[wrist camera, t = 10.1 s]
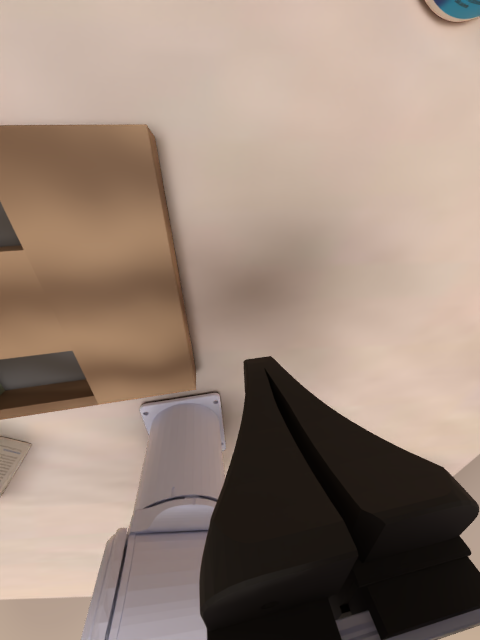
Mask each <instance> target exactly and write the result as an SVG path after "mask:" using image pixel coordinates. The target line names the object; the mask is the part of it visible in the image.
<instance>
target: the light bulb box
mask: <svg viewBox="0 0 480 640" xmlns="http://www.w3.org/2000/svg"><path fill="white" fill-rule="evenodd" d="M30 447H31V444H30V443H26V442H21V441H17V440H13V439H9V438H5V437H1V436H0V497H1V495H2V494H3V492H4V490H5V489H6V487H7V486H8V484H9V482H10V481H11V479H12V477H13V476H14V474H15V472H16V471H17V469H18V467H19V466H20V464H21V462H22V461H23V459H24V457H25V456H26V454H27V452H28V451H29V449H30Z"/></svg>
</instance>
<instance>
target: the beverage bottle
mask: <svg viewBox="0 0 480 640" xmlns="http://www.w3.org/2000/svg"><path fill="white" fill-rule="evenodd" d="M425 2H426V3H427V5H428V6H429V7H430V9H431V10H432V11H433V12H434V13H435V14H437V15H438V16H439V17H441V18H443V19H445V20H448V21H453V22H463V21H469V20H472V19H475V18H478V17H480V0H425Z"/></svg>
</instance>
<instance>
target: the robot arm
mask: <svg viewBox="0 0 480 640" xmlns="http://www.w3.org/2000/svg"><path fill="white" fill-rule="evenodd" d="M244 382H245V402H244V409H243V415H242V421H241V425H240V430H239V434H238V438H237V442H236V446H235V450H234V453H233V456H232V460H231V463H230V466H229V469H228V472H227V475H226V478H225V476H224V466H223V456H222V451H224V450H225V449H226V444H225V436H224V427H223V419H222V411H221V402H220V395H219V394H218V393H210V394H204V395H197V396H191V397H185V398H178V399H172V400H166V401H159V402H153V403H147V404H142V405H141V406H140V413H141V416H142V418H143V421H144V424H145V427H146V429H147V432H148V435H149V439H148V443H147V448H146V453H145V458H144V463H143V468H142V472H141V477H140V482H139V487H138V492H137V497H136V501H135V506H134V511H133V516H132V519H131V522H130V525H129V528H128V532H127V528H119V529H118V530H117V532H116V534H115V535H113V536H112V537H111V538H110V539H109V540H108V541H107V543H106V547H105V551H104V554H103V558H102V562H101V565H100V569H99V573H98V577H97V580H96V584H95V588H94V592H93V595H92V599H91V603H90V607H89V610H88V614H87V618H86V622H85V626H84V630H83V633H82V637H81V640H438V639H441V638H444V637H447V636H450V635H452V634H456V633H458V632H462V631H464V630H467V629H470V628H473V627H476V626H479V625H480V572H479V571H478V569H477V568H476V567H475V566H474V564H473V563H472V562H471V560H470V559H469V558H468V556H470V555H471V551H470V549H469V548H468V546H467V545H466V544H465V543H464V541H463V540H462V539H461V537H460V536H459V535H460V534H461V533H462V532H463V531H464V530H465V529H466V528H467V527H468V526H469V525H470V524H471V523H472V522H473V521H474V519H475V518H476V517H477V515H478V512H479V506H478V504H477V502H476V501H475V500H474V499H473V498H472V497H471V496H470V495H469V494H468V493H467V492H466V490H465V489H464V488H463V487H462V486H461V485H460V484H459V483H458V482H457V481H456V480H455V479H454V478H453V477H452V476H451V474H450V473H449V472H447V471H446V470H445V469H444V467H441V466H439V465H437V464H435V463H432V462H430V461H428V460H426V459H423V458H421V457H419V456H417V455H415V454H412V453H410V452H408V451H406V450H404V449H402V448H399V447H398V446H396V445H394V444H392V443H390V442H388V441H386V440H384V439H382V438H380V437H378V436H376V435H374V434H373V433H371V432H369V431H367V430H365V429H364V428H362V427H360V426H359V425H357V424H355V423H354V422H352V421H350V420H348V419H347V418H345V417H344V416H342V415H341V414H339V413H338V412H336V411H335V410H333V409H332V408H330V407H329V406H327V405H326V404H325V403H323V402H322V401H321V400H319V399H318V398H317V397H316V396H314V395H313V394H312V393H310V392H309V391H308V390H307V389H306V388H304V387H303V386H302V385H301V384H300V383H299V382H298V381H296V380H295V379H294V378H293V377H292V376H291V375H290V374H289V373H288V372H287V371H286V370H285V369H284V368H283V367H282V366H281V365H280V364H279V363H278V362H277V361H276V360H275V359H274V358H272V357H271V356H269V357H262V358H255V359H247V360H245V361H244ZM215 400H217V401H215Z"/></svg>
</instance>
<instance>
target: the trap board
mask: <svg viewBox="0 0 480 640" xmlns="http://www.w3.org/2000/svg"><path fill="white" fill-rule="evenodd" d="M190 390H196V369H195V363H194V357H193V352H192V346H191V340H190V335H189V329H188V323H187V318H186V312H185V306H184V301H183V295H182V289H181V284H180V278H179V272H178V267H177V261H176V255H175V249H174V244H173V238H172V232H171V227H170V221H169V215H168V210H167V204H166V198H165V193H164V187H163V181H162V176H161V170H160V164H159V159H158V153H157V147H156V142H155V137H154V135H153V134H152V132H151V131H150V129H149V128H148V126H147V125H1V126H0V420H2V419H8V418H15V417H21V416H28V415H34V414H41V413H47V412H54V411H60V410H67V409H73V408H80V407H86V406H93V405H99V404H106V403H112V402H119V401H125V400H132V399H138V398H144V397H151V396H157V395H164V394H170V393H177V392H183V391H190Z"/></svg>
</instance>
